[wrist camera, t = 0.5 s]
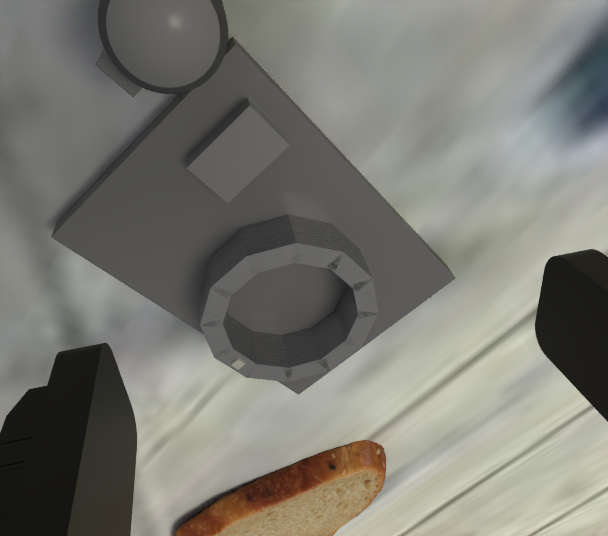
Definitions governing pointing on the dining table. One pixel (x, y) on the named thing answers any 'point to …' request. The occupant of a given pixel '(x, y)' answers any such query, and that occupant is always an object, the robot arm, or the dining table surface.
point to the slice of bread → (299, 497)
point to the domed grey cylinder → (161, 43)
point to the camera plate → (244, 209)
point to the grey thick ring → (300, 344)
